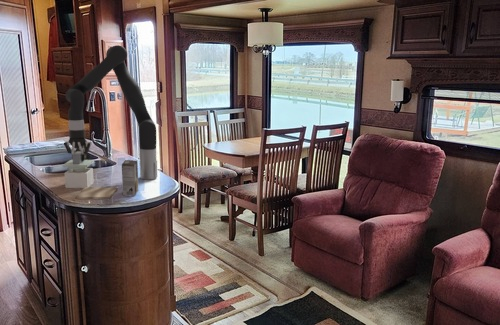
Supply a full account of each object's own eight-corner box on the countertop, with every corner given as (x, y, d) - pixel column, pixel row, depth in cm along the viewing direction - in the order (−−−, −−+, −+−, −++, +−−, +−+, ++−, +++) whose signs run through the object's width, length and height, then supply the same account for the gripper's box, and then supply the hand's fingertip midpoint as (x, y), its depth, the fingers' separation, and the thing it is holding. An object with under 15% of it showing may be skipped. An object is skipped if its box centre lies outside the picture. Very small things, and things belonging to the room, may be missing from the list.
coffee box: (125, 190, 216) (124, 159, 212) (138, 190, 216) (137, 160, 213) (122, 195, 207) (121, 164, 203) (135, 195, 208) (134, 164, 204)
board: (117, 189, 217) (117, 187, 217) (109, 199, 201) (109, 197, 201) (85, 189, 216) (85, 187, 216) (75, 198, 200) (75, 196, 200)
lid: (94, 164, 226) (93, 150, 225) (87, 169, 215) (86, 155, 213) (71, 164, 225) (70, 150, 224) (63, 169, 214) (62, 155, 212)
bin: (93, 182, 228) (92, 168, 226) (87, 188, 217) (86, 173, 215) (72, 182, 227) (71, 167, 225) (65, 187, 216) (64, 172, 215)
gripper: (93, 127, 220) (94, 159, 223) (65, 127, 218) (67, 159, 222) (88, 129, 212) (90, 163, 216) (59, 129, 211) (62, 162, 215)
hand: (78, 161), depth 219 cm, fingers closed on lid, 3 cm apart
